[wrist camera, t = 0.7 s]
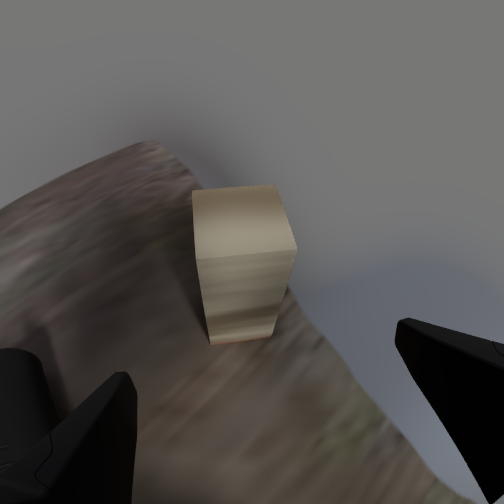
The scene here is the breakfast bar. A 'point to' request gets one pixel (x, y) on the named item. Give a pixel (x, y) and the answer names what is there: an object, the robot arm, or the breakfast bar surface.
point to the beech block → (242, 260)
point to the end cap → (23, 405)
